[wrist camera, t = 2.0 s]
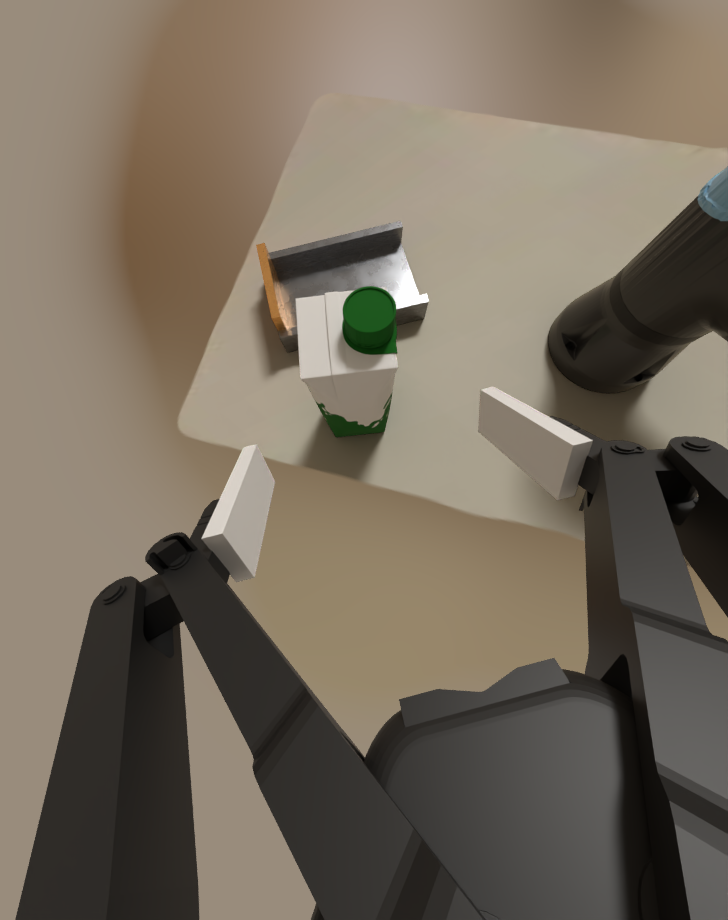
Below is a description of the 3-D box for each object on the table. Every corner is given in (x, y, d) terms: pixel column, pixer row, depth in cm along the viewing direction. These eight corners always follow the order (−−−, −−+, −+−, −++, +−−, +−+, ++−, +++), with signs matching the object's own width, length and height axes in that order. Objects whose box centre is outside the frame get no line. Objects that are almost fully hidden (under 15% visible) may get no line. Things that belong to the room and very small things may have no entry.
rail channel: (398, 243, 45) (402, 202, 39) (424, 318, 42) (432, 286, 36) (270, 274, 45) (254, 238, 39) (287, 352, 42) (273, 326, 36)
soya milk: (391, 437, 38) (409, 359, 19) (329, 444, 39) (282, 373, 19) (384, 381, 40) (394, 255, 20) (324, 388, 40) (277, 269, 21)
